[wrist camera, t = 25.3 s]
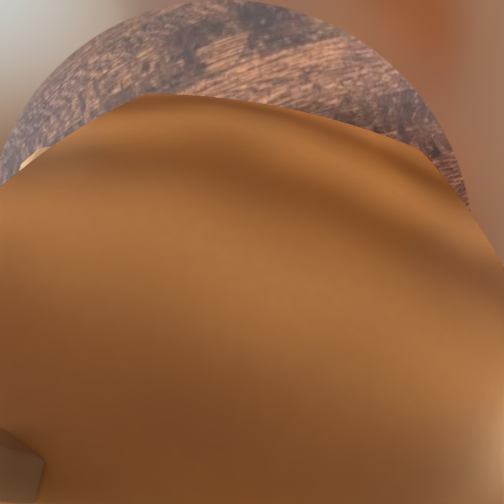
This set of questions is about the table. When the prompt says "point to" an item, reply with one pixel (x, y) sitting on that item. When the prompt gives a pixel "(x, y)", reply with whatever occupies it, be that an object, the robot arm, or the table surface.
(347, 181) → the lid
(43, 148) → the perfume bottle
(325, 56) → the table surface
